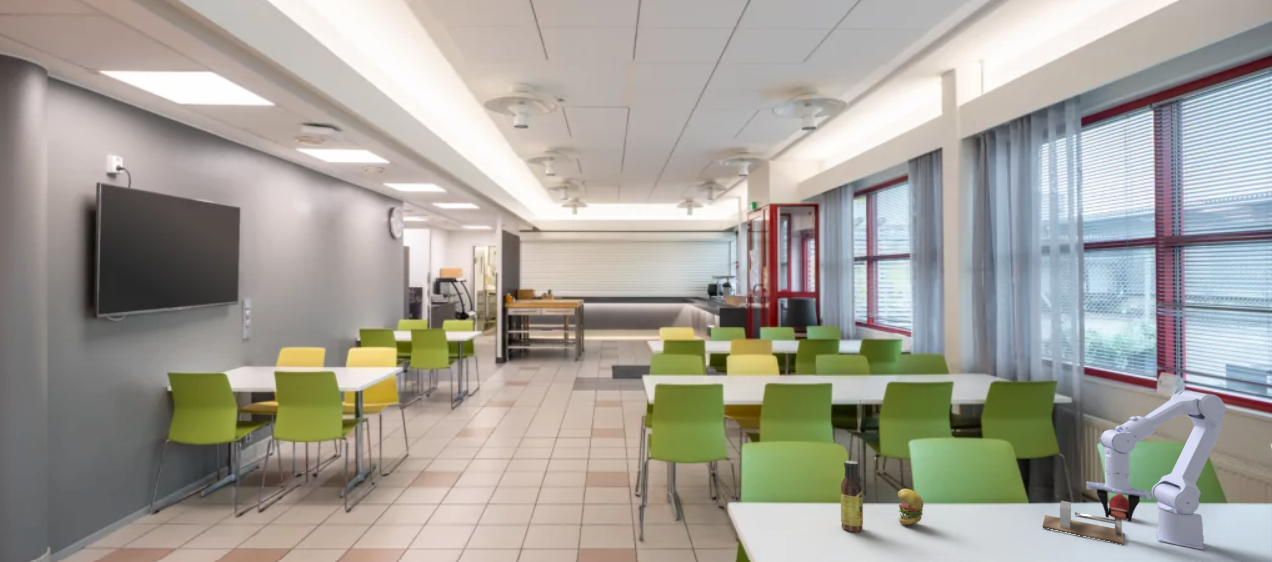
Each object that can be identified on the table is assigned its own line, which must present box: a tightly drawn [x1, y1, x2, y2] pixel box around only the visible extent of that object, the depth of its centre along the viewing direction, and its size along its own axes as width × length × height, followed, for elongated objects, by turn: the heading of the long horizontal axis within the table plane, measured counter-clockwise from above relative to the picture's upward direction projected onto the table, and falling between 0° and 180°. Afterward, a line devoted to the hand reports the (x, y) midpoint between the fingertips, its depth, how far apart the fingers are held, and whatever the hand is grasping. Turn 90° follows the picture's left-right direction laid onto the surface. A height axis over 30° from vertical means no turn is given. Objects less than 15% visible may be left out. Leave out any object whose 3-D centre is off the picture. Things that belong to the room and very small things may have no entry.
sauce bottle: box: [840, 460, 864, 533], centre depth 177 cm, size 6×6×20 cm
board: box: [1041, 514, 1124, 546], centre depth 177 cm, size 19×12×1 cm, turn 52°
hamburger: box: [897, 486, 924, 526], centre depth 180 cm, size 8×7×12 cm
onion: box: [1108, 494, 1128, 511], centre depth 188 cm, size 6×6×8 cm
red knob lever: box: [1074, 507, 1128, 535], centre depth 174 cm, size 12×4×7 cm, turn 52°
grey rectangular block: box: [1059, 500, 1072, 529], centre depth 179 cm, size 2×8×6 cm, turn 142°
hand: (1118, 518), depth 172 cm, fingers closed on red knob lever, 4 cm apart
